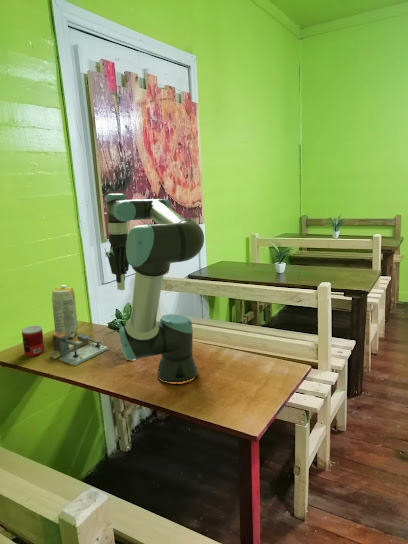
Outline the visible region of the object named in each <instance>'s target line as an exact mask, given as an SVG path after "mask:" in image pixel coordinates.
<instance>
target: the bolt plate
mask: <svg viewBox="0 0 408 544" xmlns="http://www.w3.org/2000/svg"><path fill="white" fill-rule="evenodd" d="M76 350H77V355H76V356H75V351H74V350H73V351H71V352H70V353H68V354H65V355H63V356H60V357H59V361H60V362H63V363H66V364H69V365H71V366H73V367H76V366H77V365H81V364H83V363H84V362H86V361H88V360H90V359H92V358H94V357H96V356H99V354H101V353H104V352H106V351H108V350H109V347H108V346H106V345H104V344H101V343H100V344H99V346H97V343H95V342H92V343H88V344H86V345H84V346H82V347H79V348H77V349H76Z"/></svg>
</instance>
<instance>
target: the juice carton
mask: <svg viewBox="0 0 408 544" xmlns="http://www.w3.org/2000/svg"><path fill="white" fill-rule="evenodd" d="M51 293H52V294H51V302H52V313H53V314H52V315H53V325H54V331H55V334H56V333H59V332H63V333H66V334H68V339H69V338H74V337H75V335H76V334H77V331H78V315H77V302H76V293H75V290H74V287H73V286H71V287H70V286H69V287H67V284H64V285H60V287H55V289H53V290H52V292H51Z"/></svg>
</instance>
